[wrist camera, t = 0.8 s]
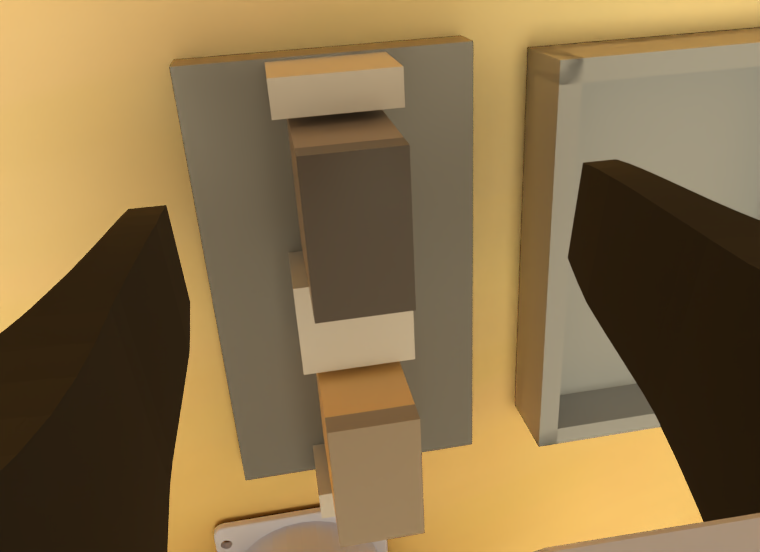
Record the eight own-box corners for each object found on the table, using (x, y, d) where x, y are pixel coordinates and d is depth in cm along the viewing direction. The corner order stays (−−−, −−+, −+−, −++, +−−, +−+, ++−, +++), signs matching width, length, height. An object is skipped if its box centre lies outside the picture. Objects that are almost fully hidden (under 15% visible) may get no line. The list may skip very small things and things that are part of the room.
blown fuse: (381, 234, 26) (415, 310, 21) (301, 243, 26) (314, 323, 20) (373, 98, 24) (409, 144, 18) (285, 106, 23) (296, 156, 18)
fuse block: (461, 35, 25) (501, 54, 21) (462, 423, 32) (492, 491, 28) (173, 59, 24) (158, 84, 20) (245, 457, 31) (245, 533, 27)
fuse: (393, 427, 30) (424, 532, 25) (323, 438, 30) (340, 547, 24) (387, 326, 28) (420, 418, 22) (311, 336, 27) (327, 433, 22)
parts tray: (732, 371, 34) (773, 408, 31) (514, 404, 33) (538, 446, 30) (802, 23, 27) (863, 32, 24) (527, 47, 25) (560, 60, 23)
